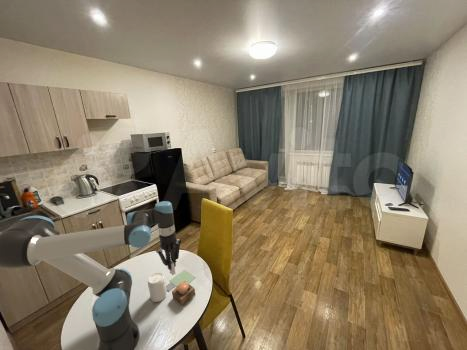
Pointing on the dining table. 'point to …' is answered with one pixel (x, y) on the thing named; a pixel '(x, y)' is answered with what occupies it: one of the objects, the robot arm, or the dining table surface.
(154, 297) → the beverage can
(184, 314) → the dining table surface
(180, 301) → the housing
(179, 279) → the pad
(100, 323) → the robot arm
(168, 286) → the pad
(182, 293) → the plunger
